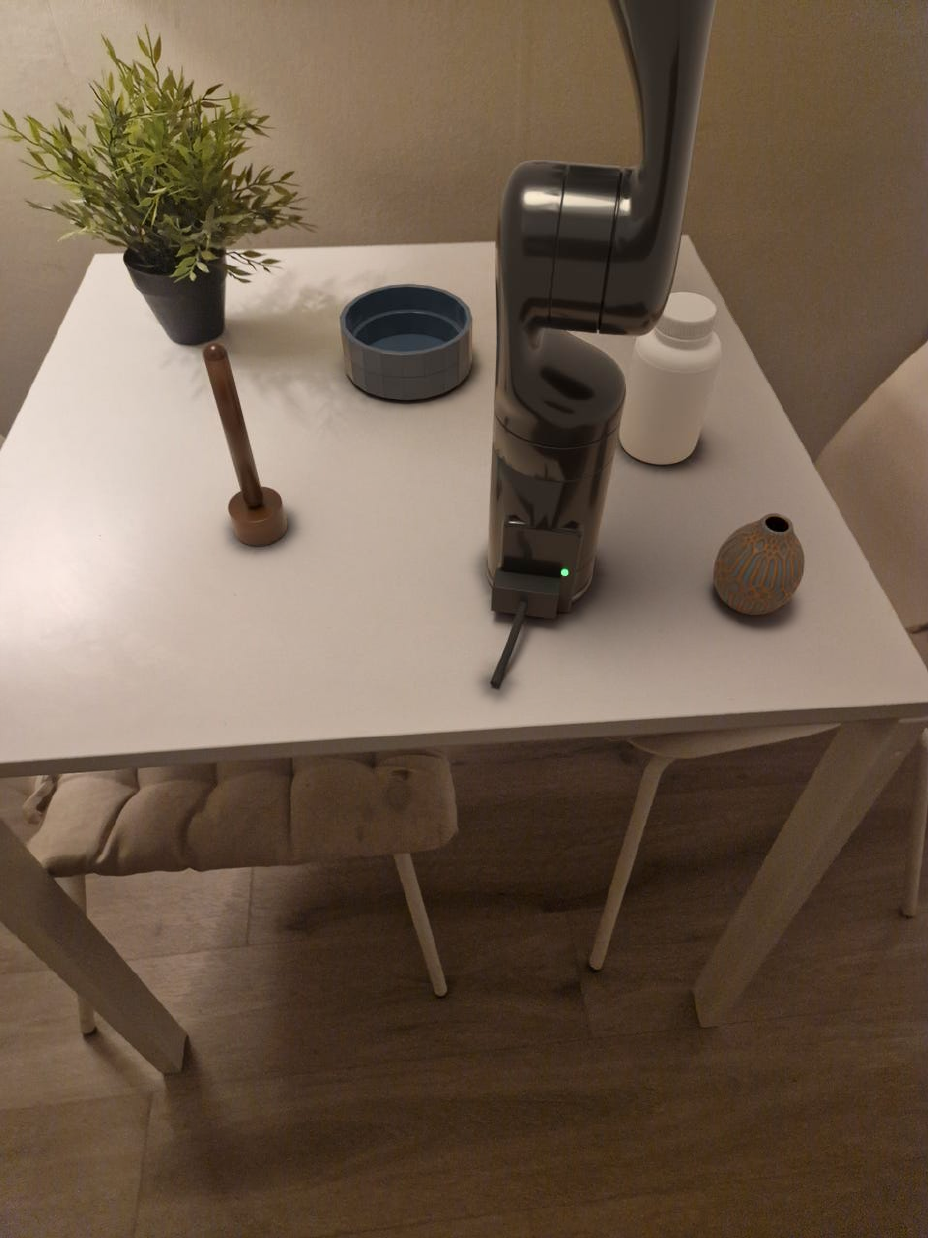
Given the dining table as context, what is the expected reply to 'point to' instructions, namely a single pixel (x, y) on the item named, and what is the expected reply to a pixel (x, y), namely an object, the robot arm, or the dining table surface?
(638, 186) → the robot arm
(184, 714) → the dining table surface
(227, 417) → the wooden peg stand
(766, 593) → the vase
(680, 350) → the pill bottle
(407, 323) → the bowl
